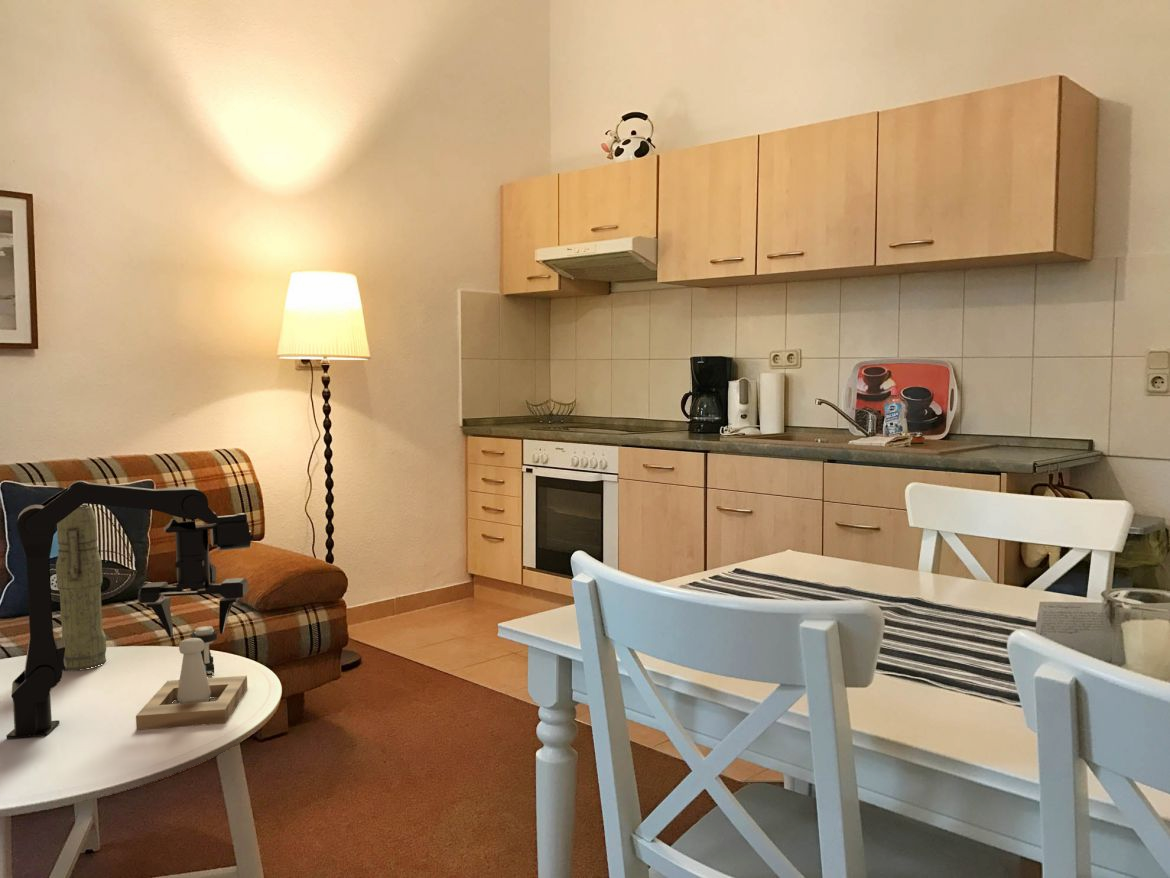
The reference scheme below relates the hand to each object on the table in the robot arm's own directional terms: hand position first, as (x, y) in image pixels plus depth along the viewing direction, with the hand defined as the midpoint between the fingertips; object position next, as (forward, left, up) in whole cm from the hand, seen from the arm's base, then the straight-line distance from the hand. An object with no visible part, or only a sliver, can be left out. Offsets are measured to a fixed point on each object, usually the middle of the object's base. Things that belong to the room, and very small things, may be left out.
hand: (196, 634), depth 179 cm
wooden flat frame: (-3, 0, -13) cm, 13 cm away
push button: (+17, +3, -13) cm, 22 cm away
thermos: (+32, +32, -13) cm, 47 cm away
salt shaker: (-3, 0, -13) cm, 14 cm away
